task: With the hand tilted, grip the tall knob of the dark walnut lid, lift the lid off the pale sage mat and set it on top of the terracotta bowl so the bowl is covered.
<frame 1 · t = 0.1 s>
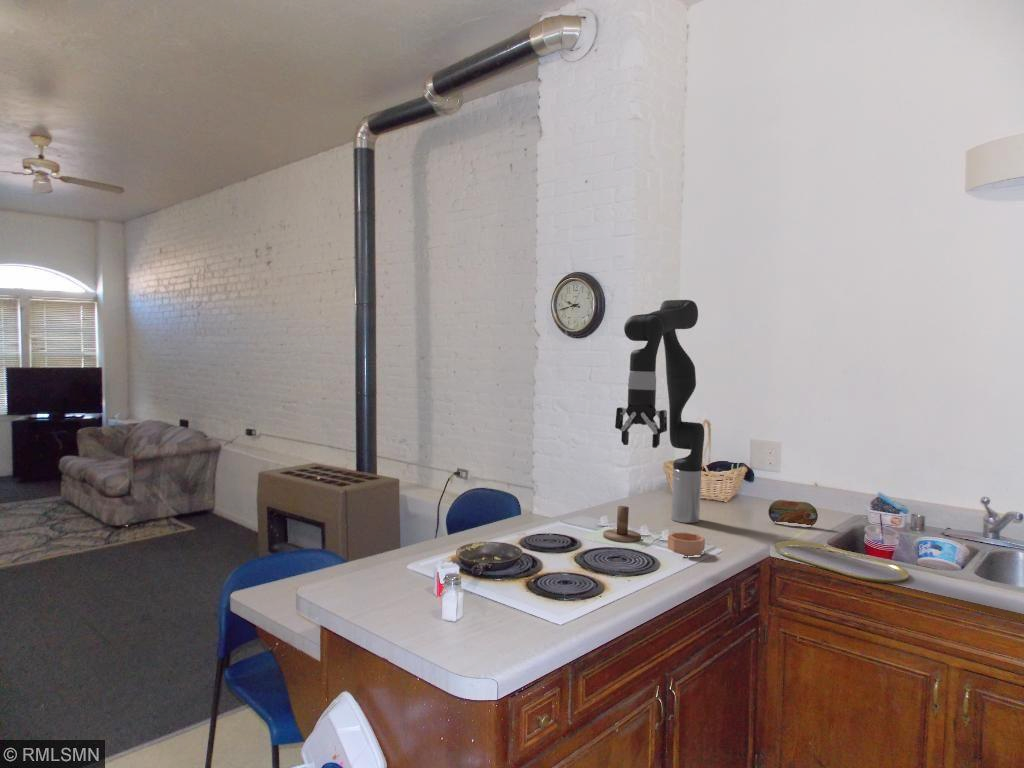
hand: (640, 446, 177), 29 cm above the worktop, tool pointing down, fingers open, 8 cm apart
walnut lid: (622, 537, 187), point 1 cm above the worktop, touching sage mat
terracotta bowl: (685, 552, 177), on the worktop
sage mat: (621, 540, 187), on the worktop
tin: (792, 526, 213), on the worktop
serving platter: (837, 564, 173), on the worktop
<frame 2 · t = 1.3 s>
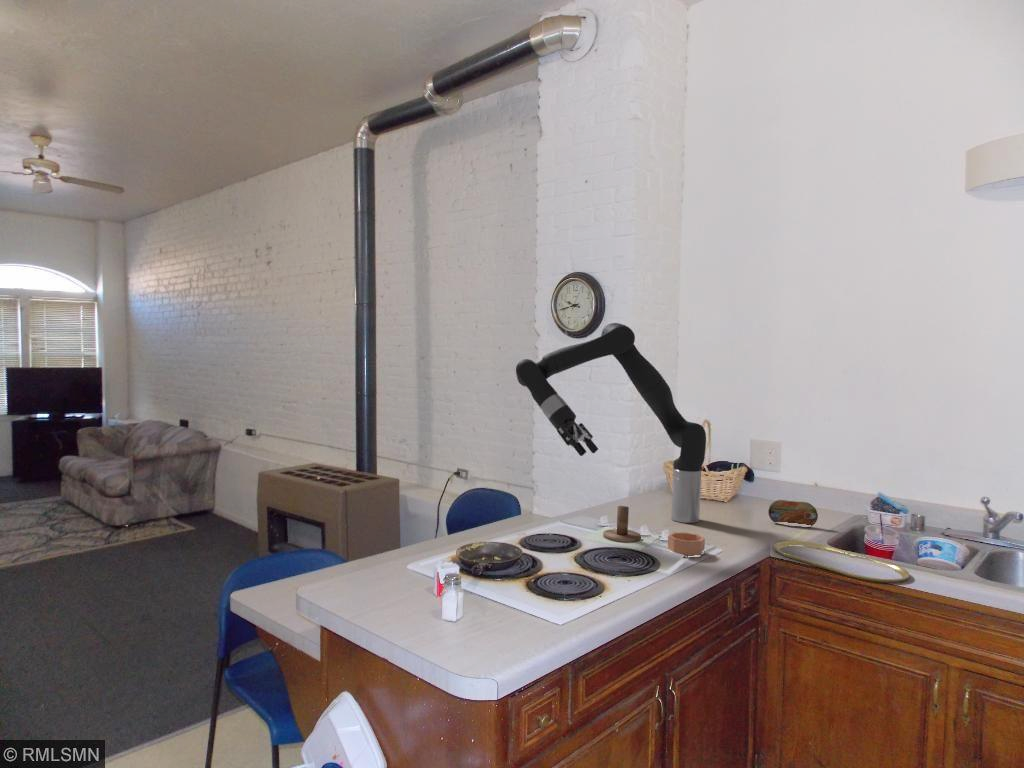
hand: (590, 452, 192), 25 cm above the worktop, tool tilted 45°, fingers open, 8 cm apart
nothing on the worktop moved.
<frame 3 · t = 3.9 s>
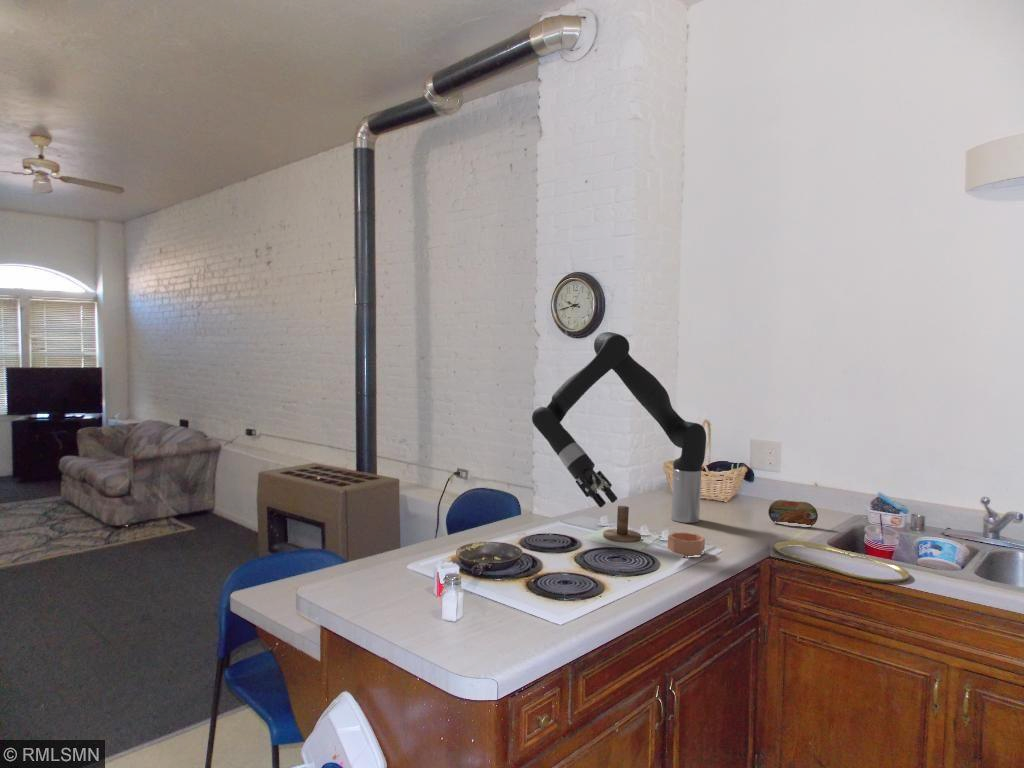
hand: (609, 503, 189), 10 cm above the worktop, tool tilted 45°, fingers open, 8 cm apart
nothing on the worktop moved.
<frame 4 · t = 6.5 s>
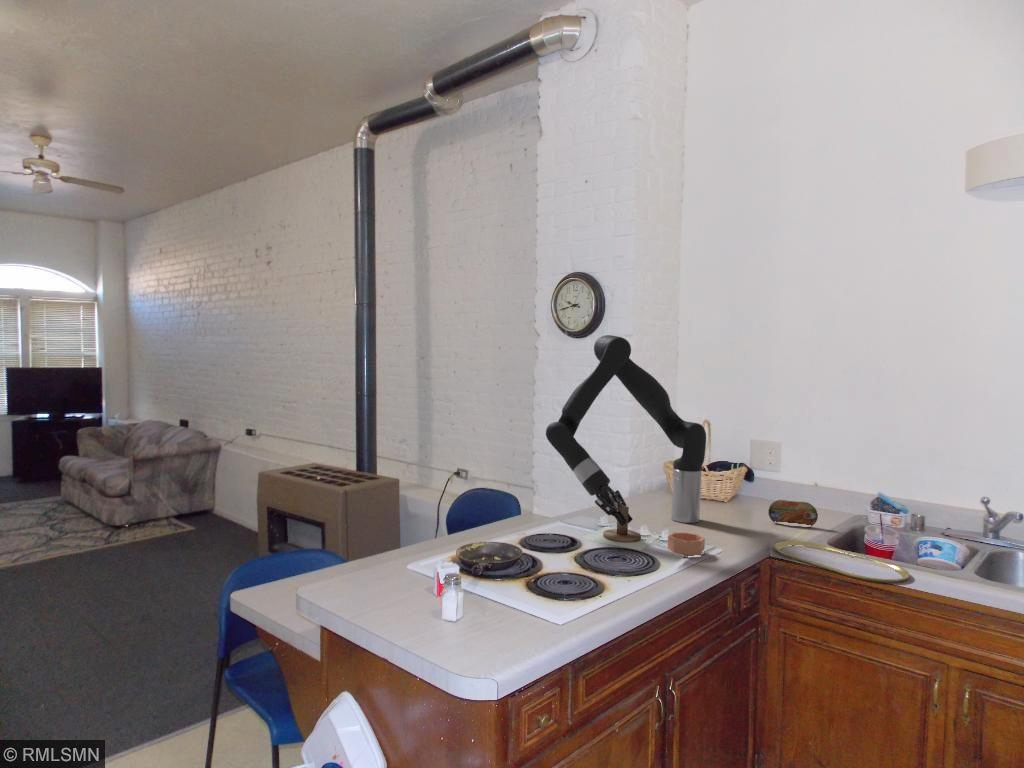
hand: (627, 522, 186), 6 cm above the worktop, tool tilted 45°, fingers closed on walnut lid, 3 cm apart
walnut lid: (621, 537, 187), point 1 cm above the worktop, touching gripper, sage mat
everything else where it was.
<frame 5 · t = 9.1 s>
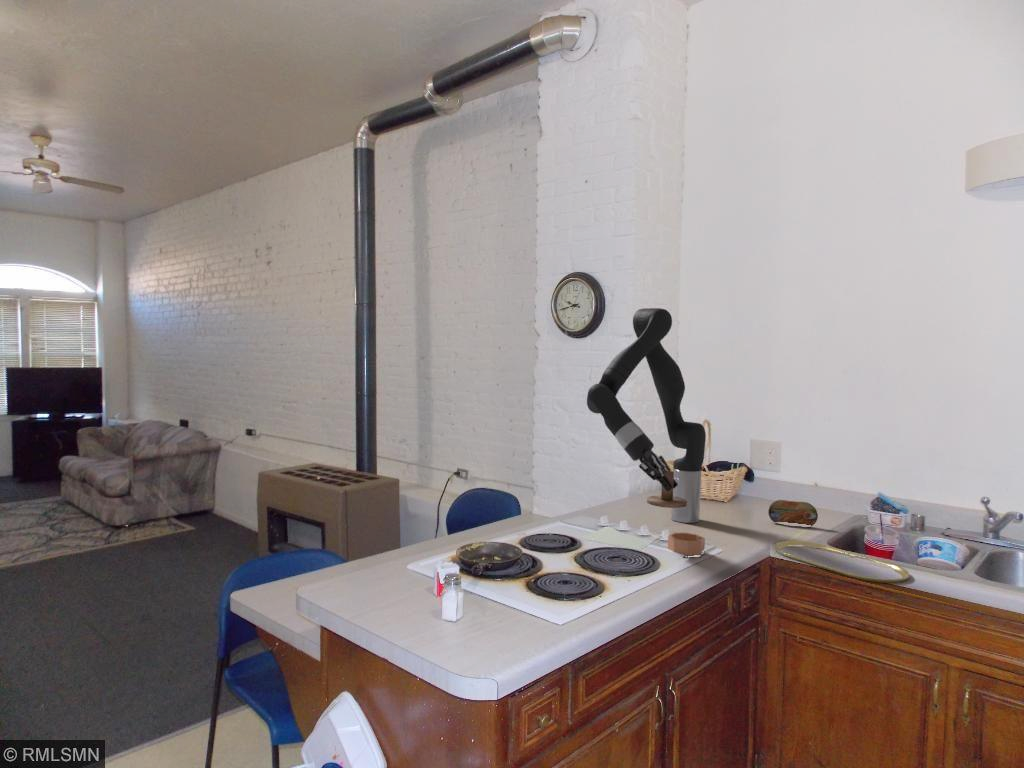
hand: (672, 487, 179), 18 cm above the worktop, tool tilted 45°, fingers closed on walnut lid, 3 cm apart
walnut lid: (666, 503, 180), point 13 cm above the worktop, touching gripper
everything else where it was.
when the fingers open (10 cm above the worktop, at t = 11.8 s): walnut lid stays where it is, resting on terracotta bowl.
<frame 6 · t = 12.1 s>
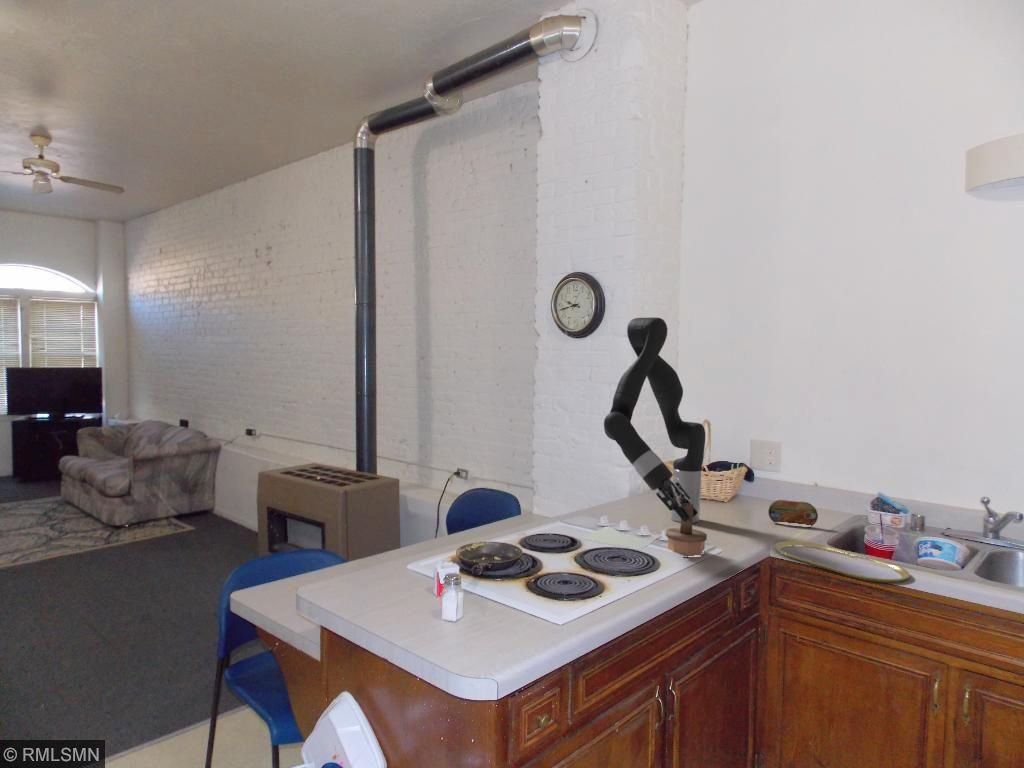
hand: (691, 517, 176), 10 cm above the worktop, tool tilted 45°, fingers open, 6 cm apart
walnut lid: (686, 536, 177), point 4 cm above the worktop, touching terracotta bowl
everything else where it was.
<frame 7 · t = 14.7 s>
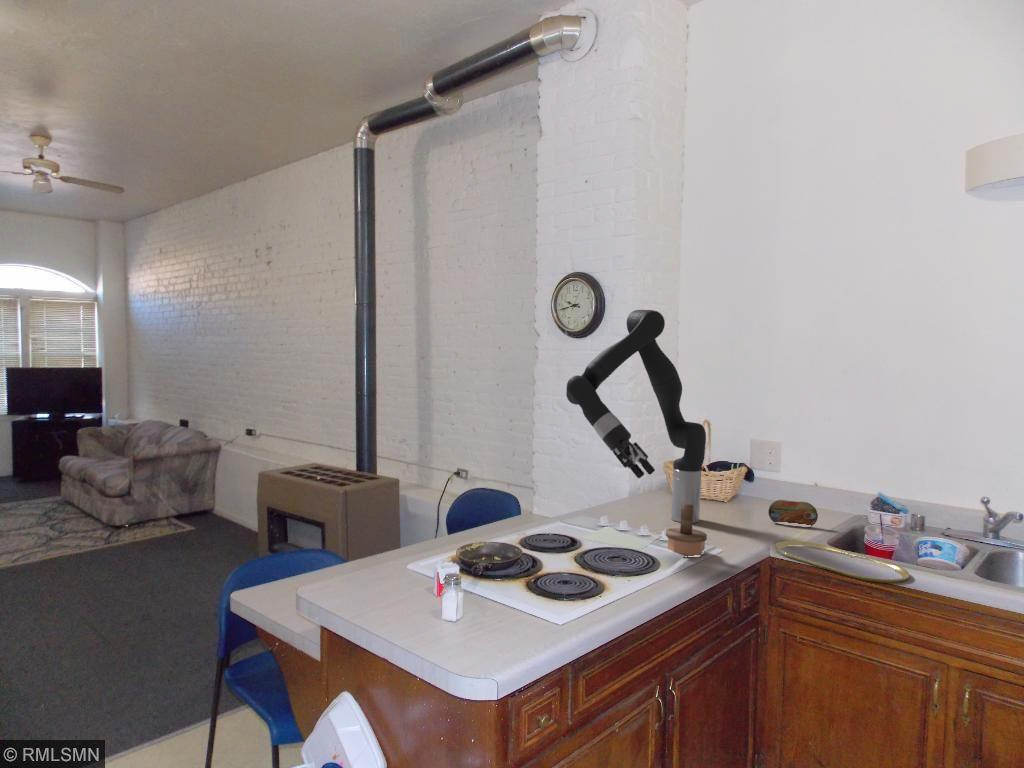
hand: (647, 474, 183), 20 cm above the worktop, tool tilted 45°, fingers open, 8 cm apart
nothing on the worktop moved.
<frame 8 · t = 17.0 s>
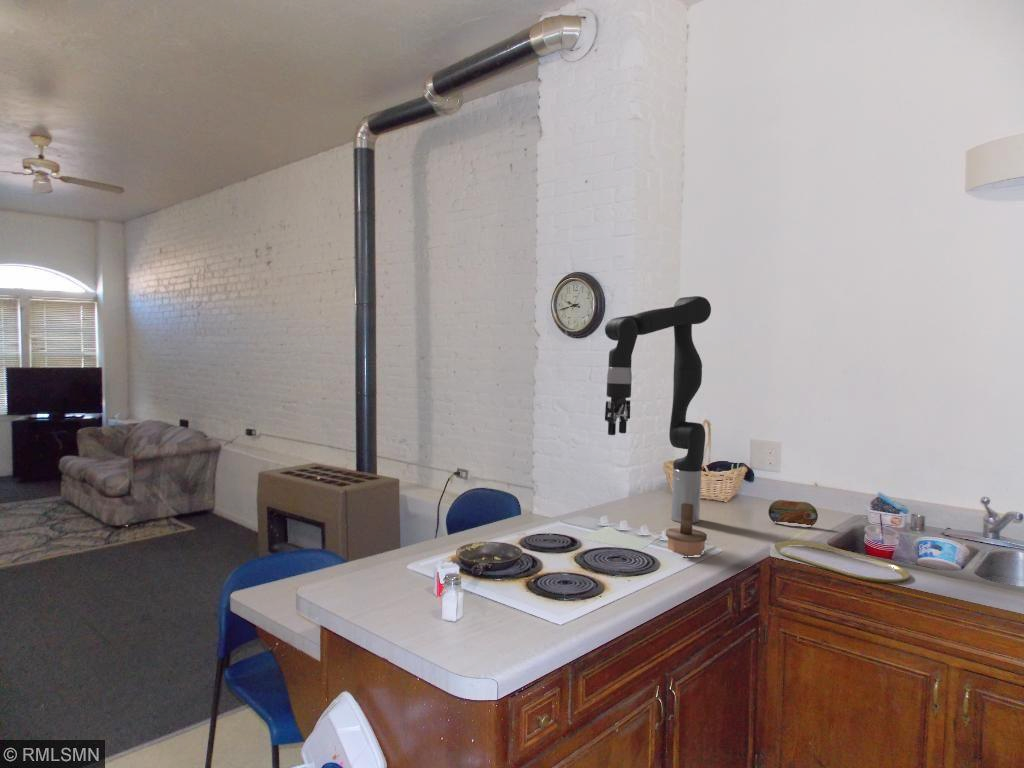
hand: (617, 434, 198), 30 cm above the worktop, tool pointing down, fingers open, 8 cm apart
nothing on the worktop moved.
at the end: walnut lid 0.1 cm off-centre on the terracotta bowl, point 4.5 cm above the terracotta bowl's base; walnut lid tilted 0°; the gripper is holding nothing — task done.
